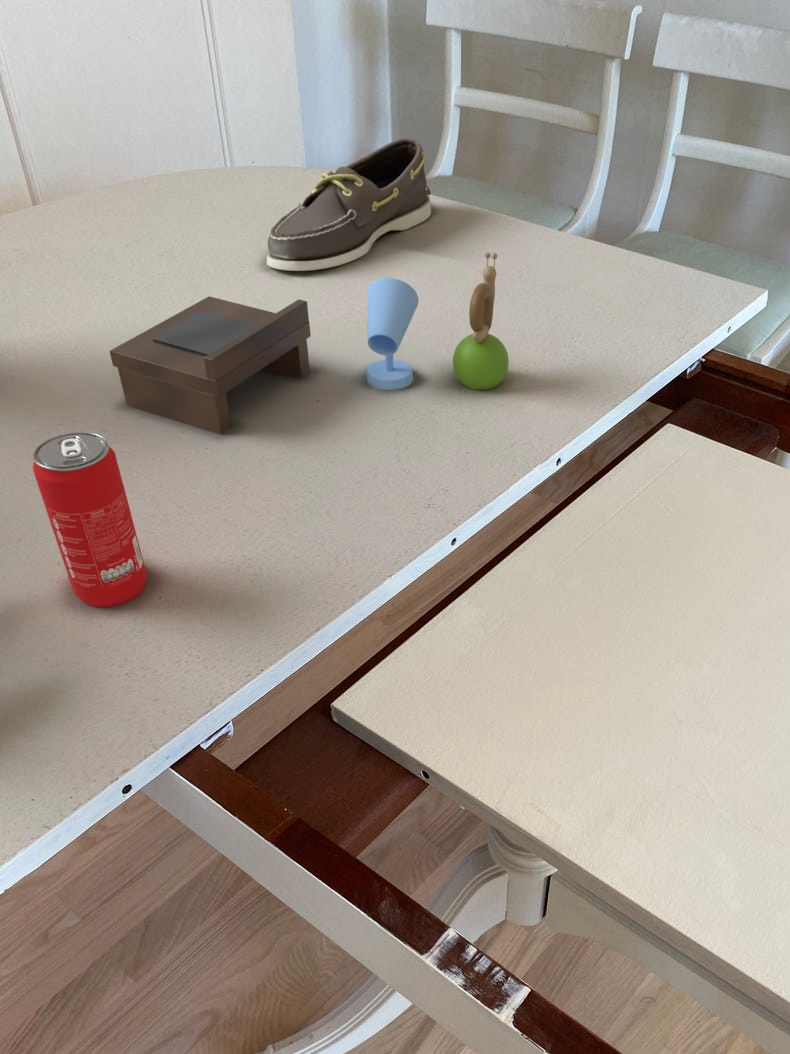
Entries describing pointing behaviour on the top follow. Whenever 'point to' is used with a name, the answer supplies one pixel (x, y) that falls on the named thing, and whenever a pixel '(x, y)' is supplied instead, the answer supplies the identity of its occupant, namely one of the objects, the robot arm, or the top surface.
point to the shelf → (209, 358)
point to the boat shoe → (353, 209)
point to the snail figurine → (481, 340)
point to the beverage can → (90, 517)
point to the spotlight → (389, 331)
